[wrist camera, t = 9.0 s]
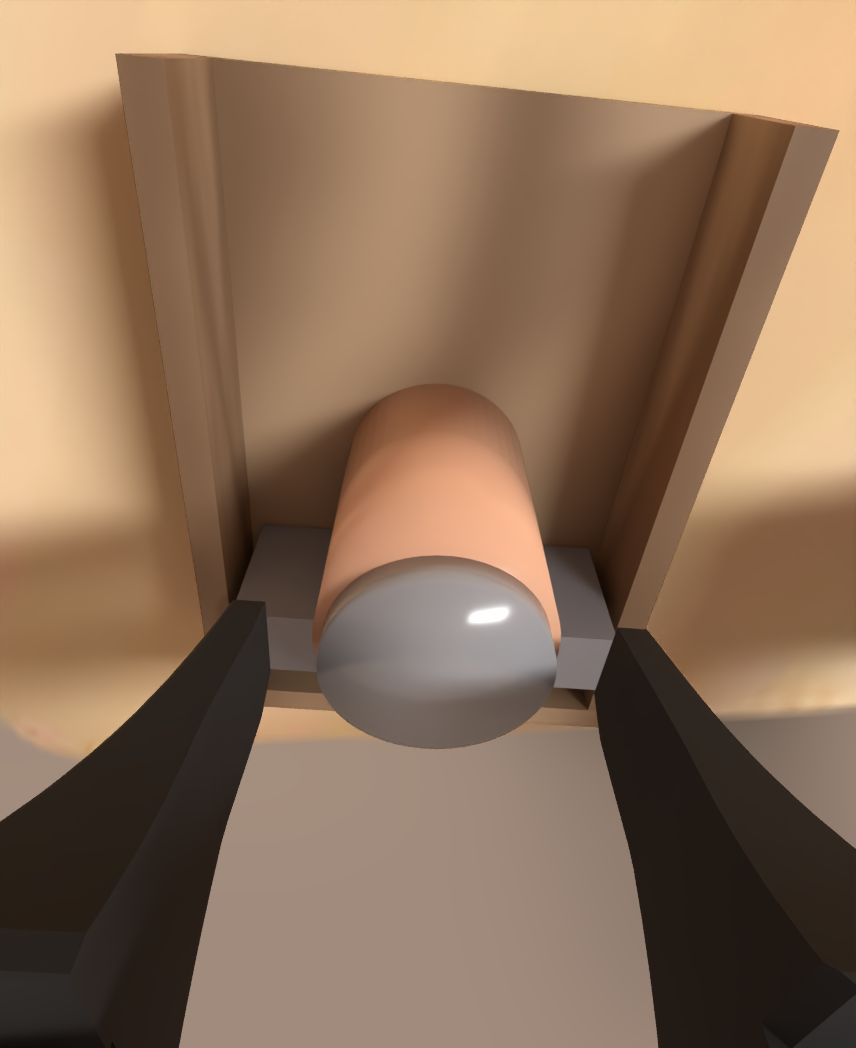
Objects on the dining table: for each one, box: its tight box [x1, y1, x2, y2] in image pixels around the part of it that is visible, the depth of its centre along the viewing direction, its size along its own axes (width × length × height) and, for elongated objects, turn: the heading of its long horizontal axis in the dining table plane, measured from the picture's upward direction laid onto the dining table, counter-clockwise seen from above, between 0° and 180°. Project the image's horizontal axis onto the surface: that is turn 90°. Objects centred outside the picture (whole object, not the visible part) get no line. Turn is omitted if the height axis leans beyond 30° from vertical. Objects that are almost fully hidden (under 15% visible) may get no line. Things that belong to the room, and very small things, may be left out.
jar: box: [312, 383, 561, 749], centre depth 16 cm, size 5×5×8 cm
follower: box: [236, 525, 615, 690], centre depth 19 cm, size 10×2×5 cm, turn 85°
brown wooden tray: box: [115, 54, 839, 727], centre depth 18 cm, size 13×17×4 cm
